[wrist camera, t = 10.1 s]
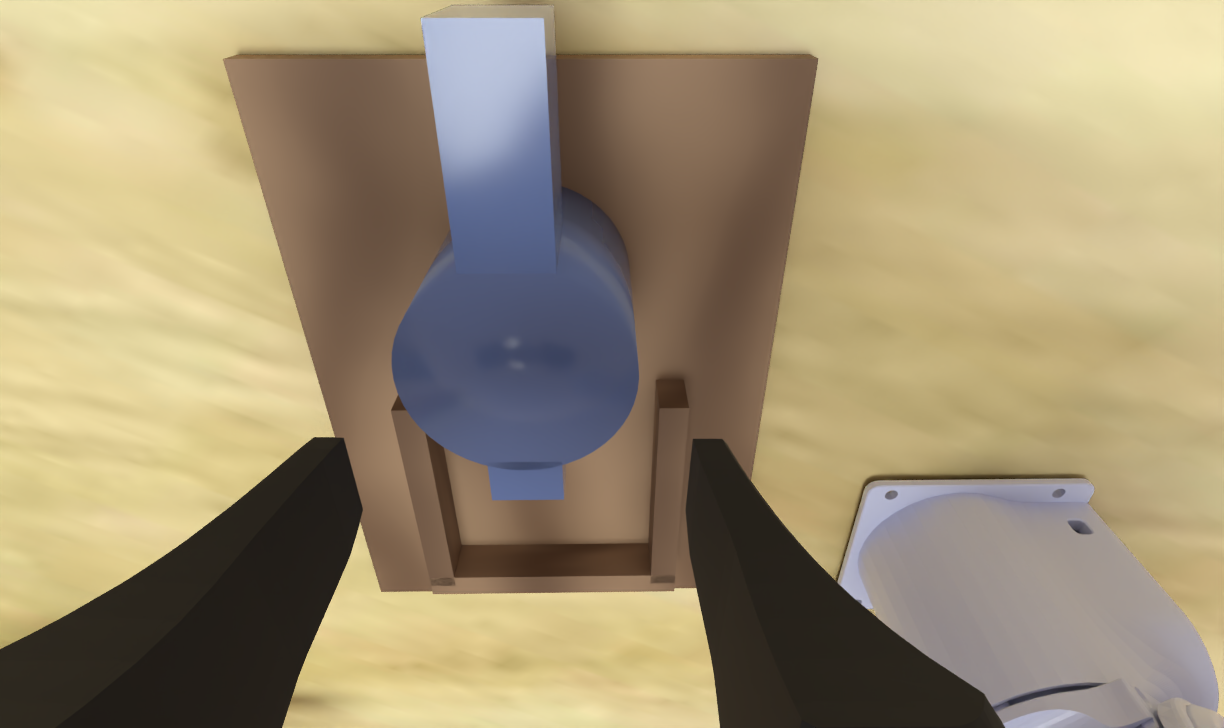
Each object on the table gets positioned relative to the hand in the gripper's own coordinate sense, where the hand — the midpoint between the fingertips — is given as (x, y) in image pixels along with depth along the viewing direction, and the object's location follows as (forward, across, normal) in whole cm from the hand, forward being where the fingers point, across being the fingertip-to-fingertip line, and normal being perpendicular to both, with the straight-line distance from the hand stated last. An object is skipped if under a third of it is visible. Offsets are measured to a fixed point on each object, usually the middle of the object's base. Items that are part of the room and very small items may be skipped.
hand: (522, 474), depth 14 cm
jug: (+9, +1, -2) cm, 9 cm away
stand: (+10, 0, +4) cm, 11 cm away
